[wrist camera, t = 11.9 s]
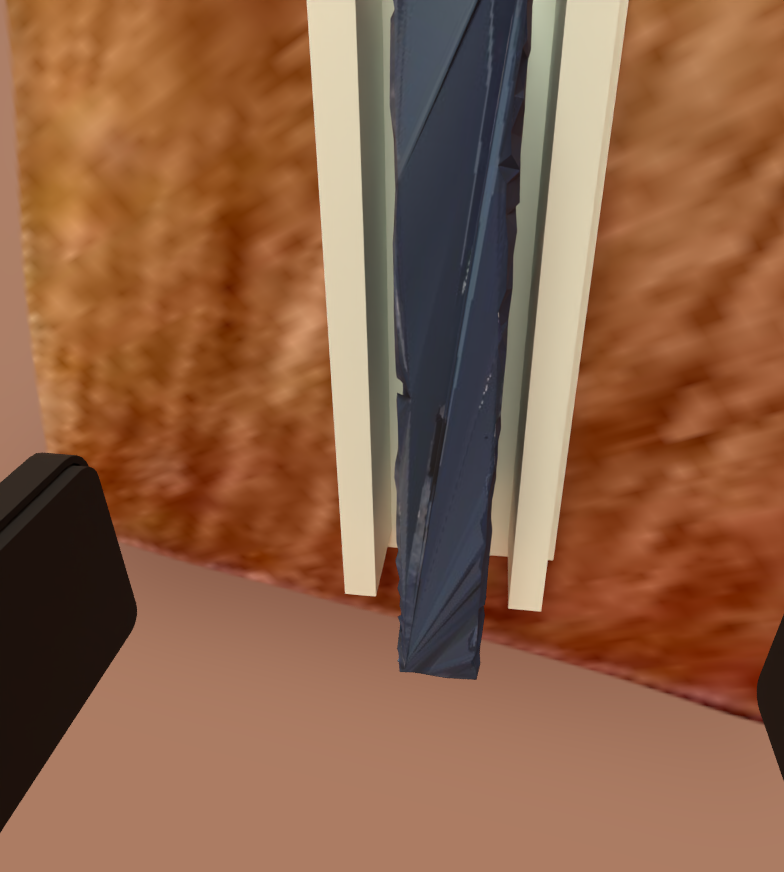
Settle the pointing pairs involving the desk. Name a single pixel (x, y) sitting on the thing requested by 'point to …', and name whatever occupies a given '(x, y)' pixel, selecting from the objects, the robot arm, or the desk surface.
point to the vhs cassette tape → (452, 305)
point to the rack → (532, 271)
